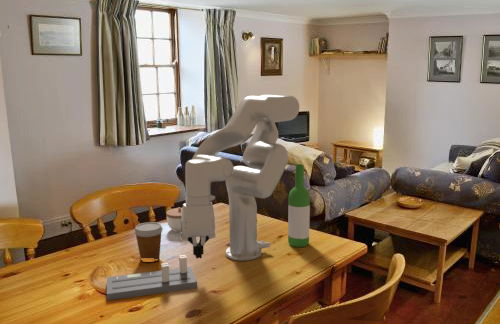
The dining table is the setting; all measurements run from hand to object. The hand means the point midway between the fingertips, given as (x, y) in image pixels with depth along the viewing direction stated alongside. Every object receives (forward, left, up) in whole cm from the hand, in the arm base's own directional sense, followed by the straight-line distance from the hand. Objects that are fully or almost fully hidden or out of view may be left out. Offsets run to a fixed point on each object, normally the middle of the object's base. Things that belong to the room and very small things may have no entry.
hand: (198, 256), depth 147 cm
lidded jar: (0, -45, -7) cm, 45 cm away
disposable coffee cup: (+14, -19, -7) cm, 24 cm away
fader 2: (+5, -1, -5) cm, 7 cm away
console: (+15, +1, -7) cm, 16 cm away
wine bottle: (-40, -17, -7) cm, 44 cm away
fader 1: (+11, +4, -5) cm, 12 cm away
